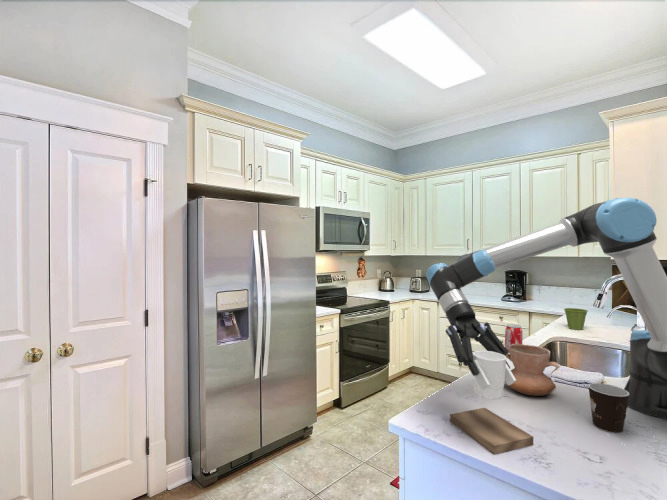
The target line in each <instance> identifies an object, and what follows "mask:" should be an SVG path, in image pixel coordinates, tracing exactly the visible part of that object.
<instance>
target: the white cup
mask: <svg viewBox="0 0 667 500" xmlns="http://www.w3.org/2000/svg"><path fill="white" fill-rule="evenodd" d="M472 353H473V361H474V360H477V361H478V363H479V365H480V366H481V368H482V370H483V372H484V374H485V376H486V377H487V379H488V381H489V383H490V385H489V386H488V387H487V388H485V389H483V390H482V389H481V387H480V385H479V383H478V381H477V379H476V377H475V376H473V381H474V392H475V394H476V395H478V396H480V397H481V398H486V399H491V400H492V399H493V400H497V399H499V400H500V399H501V398H503V396H504V388H505V387H504V386H505V383H506V382H505V370H506V361H507V358H506V356H504V355H503V354H500V353H497V352H492V351H487V350H476V351H472Z"/></svg>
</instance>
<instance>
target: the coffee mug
mask: <svg viewBox="0 0 667 500" xmlns="http://www.w3.org/2000/svg"><path fill="white" fill-rule="evenodd" d="M588 393H589V400H590V401H589V403H590V408H591V410H590V411H591V418H592V424H593V426H595V427H596V428H598V429H599V430H603V431H606V432H609V433H615V434H617V433H618V434H619V433H623V431H624V426H625V421H626V418H627V410H628V406H627V404H628V399H629V392H627V391H626V390H624V388H622V387H618V386H617V385H612V384H607V383H602V382H601V383H600V382H592V383H588Z"/></svg>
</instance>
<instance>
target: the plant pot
mask: <svg viewBox="0 0 667 500" xmlns="http://www.w3.org/2000/svg"><path fill="white" fill-rule="evenodd" d="M563 310H564V313H565V317H566V323H567V327H568V329H572V330H574V329H575V330H574V331H576V330H577V331H580V330H584V328H585V322H586V317H587V314H588V312H589V310H588V309H584V308H576V307H575V308H571V307H565V308H563Z"/></svg>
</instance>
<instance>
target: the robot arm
mask: <svg viewBox="0 0 667 500" xmlns="http://www.w3.org/2000/svg"><path fill="white" fill-rule="evenodd" d="M655 226H657V215H656V212H655V210H654V209H653V208H652V206H650V205H649V203H647V202H645V201H643V200H641V199H638V198H634V197H618V198H617V197H616V198H613V199H609V200H606V201H602V202H598V203H594V204H592V205H589V206H588V207H585V208H584V209H581V210H580V211H577V212H575V213H573V214H570V215H568V216H565V217H562V218H560V220H559V222H557V223H554V224H551V225H549V226H546V227H543V228H540V229H537V230H534V231H531V232H528V233H525V234H522V235H520V236H516V237H514V238H511V239H508V240H505V241H503V242H499V243H497V244H493V245H491V246H490V245H489V246H488V247H485V248H482V249H479V250H476V251H473V252H471V253H464V254H463V255H460V257H459V258H458V259H457V261H456V262H454V263H453V264H451V265H448V264H446V263H444V262H438V263H434V264H433V265H431V266H430V267H428V269H427V270H426V273H425V276H426V279H427V282H428V283H429V286H430V288H431V290H432V291H433V294H434V295H435V297H436V299H437V301H438V303H439V305H440V306H441V309H442V311H443V312H444V314H445V316H446V318H447V320H448V323H449V324H450V325H449V326H448V327H447V328H446V329H445V333H446V335H447V336H448V337H449V340H450V343H451V345H452V348H453V352H454V354H455V356H456V360H457V362H458V363H460V364H462V365H463V366H465V367H468V370H469V371H470V373H471V375H472V376H473V377H474V376H475V377H476V379H477V381H478V383H479V385H480V387H481V389H482V390H483V389H485V388H487V387H488V386H489V385H490V383H489V381H488V379H487V377H486V376H485V374H484V372H483V370H482V368H481V366H480V365H479V363H478V361H477V360H474V361H473V348H472V347H473V346H472V341H471V340H472V339H474V340H475V341H476V342H478V343H479V344H480V345H481V346H482V347H483V348H484V349H485V351H492V352H497V353H500V354H503V355H504V356H505V355H507V354H509V352H508V351H507V349H506V348H505V344H503V343H502V342H501V340H500V339H499V337H498V336H497V335H496V333H495V332H494V331H493V330H492V328H491V325H490V323H489V322H485V323H480V322H479V321H478V320H477V317H476V312H475V311H474V308H473V306H471V304H470V303H469V301H468V299H467V297H466V296H465V293H464V291H463V290H462V289H461V288H464V287H466V286H468V285H470V284H472V283H474V282H476V281H478V280H480V279H482V278H484V277H488V276H489V275H490V274H492V273H494V272H495V271H496V269H499V268H501V267H504V266H508V265H510V264H514V263H517V262H520V261H523V260H526V259H529V258H533V257H536V256H539V255H542V254H545V253H548V252H551V251H555V250H558V249H560V248H563V247H566V246H571V247H573V248H575V247H578V246H581V245H584V244H591V243H598V244H599V246H600V247H601V249H602V252H603V254H604V255H606V256H609V257H611V258H613V260H614V262H615V264H616V266H617V269H618V270H619V272H620V274H621V277H622V278H623V280H624V283H625V285H626V287H627V289H628V291H629V294H630V295H631V298H632V300H633V302H634V303H635V307H636V308H637V311H638V314H640V317H641V320H642V321H643V323H644V326H645V327H646V329H645V330H644V329H638V330H637V329H636V330H633V331H631V333H630V338H629V378H628V380H627V382H626V384H625V386H624V388H623V389H624V390H626V391H627V392H629V399H628V404H627V407H629V408H631V409H633V410H635V411H638V412H640V413H643V414H646V415H649V416H653V417H657V418H661V419H667V274H666V272H665V270H664V268H663V265H662V263H661V262H660V260H659V257H658V255H657V254H656V252H655V249H654V245H655V243H656V241H657V240H658V239H657V236H656V234H655ZM511 370H512V369H511V366H510V365H509V363H508V362H507V360H506V370H505V381H506V382H505V384H506V383H507V384H506V385H507V386H508V385H511V384H512V383H514V382H515V381H516V379H515V377H514V375H513V374H512V372H511Z"/></svg>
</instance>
